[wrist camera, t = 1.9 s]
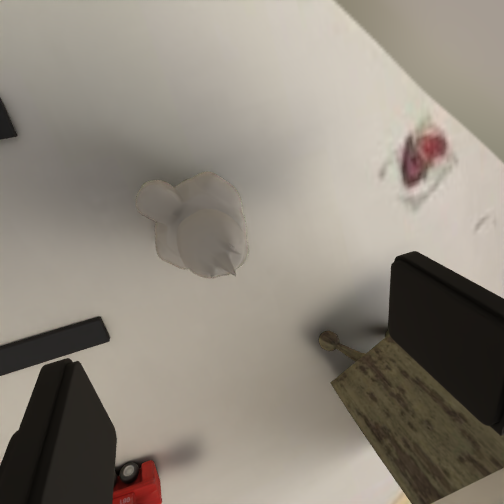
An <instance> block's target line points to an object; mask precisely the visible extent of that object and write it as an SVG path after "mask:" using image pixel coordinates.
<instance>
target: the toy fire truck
mask: <svg viewBox="0 0 504 504" xmlns="http://www.w3.org/2000/svg"><path fill="white" fill-rule="evenodd" d="M161 503H162V498H161V486H160V479H159V476H158V473H157V470H156V467H155V464H154V461H152V460H150V461H147V462H144V463H142V465H141V468H140V469H139V468H138V466H137V464H136V463H134V462H130V463H127V464H126V465H124V466H123V467H122V469H121V471H120V474H119V476H117V474H116V472H115V473H114V488H113V503H112V504H161Z"/></svg>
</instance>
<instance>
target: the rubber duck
mask: <svg viewBox="0 0 504 504" xmlns="http://www.w3.org/2000/svg"><path fill="white" fill-rule="evenodd" d="M136 207H137V210H138V212H139V213H141V214H142V215H144V216H146V217H147V218H149V219H151V220H153V221H156V224H155V235H156V237H155V244H156V251H157V254H158V256H159V257H160V258H161V259H162V260H164V261H166V262H168V263H170V264H172V265H174V266H176V267H178V268H181V269H189V270H190V271H192V272H193V273H195V274H197V275H199V276H201V277H205V278H216V277H218V276H223V275H229V274H232V275H235V276H236V274H235V270H236V269H238V268H240V267H241V266H242V265H243V264H244V263H245V261H246V259H247V257H248V253H249V248H248V242H247V231H246V221H245V217H244V215H243V212H242V201H241V198H240V196H239V194H238V192H237V190H236V189H235V187H234V186H232V185H231V184H230V183H228V182H227V181H225V180H224V179H222V178H221V177H220V176H218V175H216V174H214V173H212V172H202V173H199V174H198V175H196V176H194V177H193V178H190V179H187V180H185V181H183V182H182V183H180V184H179V185H177V186H175V187H172V186H171V185H170V184H168V183H167V182H164V181H161V180H152V181H148V182H146V183H144V184H143V185H142V187H141V189H140V191H139V192H138V194H137V196H136Z"/></svg>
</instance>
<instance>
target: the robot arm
mask: <svg viewBox="0 0 504 504" xmlns="http://www.w3.org/2000/svg"><path fill="white" fill-rule="evenodd" d="M388 331H389V334H390V336H391V338H392V339H393V340H394V341H395V342H396V343H397V344H398V345H399V346H400V347H401V348H402V349H403V350H404V351H405V352H407V353H408V354H409V355H410V356H411V357H412V358H413V359H414V360H415V361H416V362H417V363H418V364H419V365H420V366H421V367H422V368H423V369H425V370H426V371H427V372H428V373H429V374H430V375H431V376H432V377H433V378H434V379H435V380H436V381H437V382H438V383H439V384H440V385H442V386H443V387H444V388H445V389H446V390H447V391H448V392H449V393H450V394H451V395H452V396H453V397H454V398H455V399H456V400H457V401H458V402H460V403H461V404H462V405H463V406H464V407H465V408H466V409H467V410H468V411H469V412H470V413H471V414H472V415H473V416H474V417H475V418H476V419H478V420H479V421H480V422H481V423H482V424H484V425H486V426H490V427H491V428H492V429H494V430H495V431H496V432H497V433H498V434H499V435H500V436H502V435H504V299H503V298H501V297H500V296H498V295H496V294H494V293H492V292H490V291H488V290H487V289H485V288H483V287H481V286H479V285H477V284H476V283H474V282H472V281H470V280H468V279H466V278H465V277H463V276H461V275H459V274H457V273H455V272H454V271H452V270H450V269H448V268H446V267H444V266H443V265H441V264H439V263H437V262H435V261H433V260H432V259H430V258H428V257H426V256H424V255H422V254H420V253H419V252H416V251H413V252H409V253H406V254H403V255H400V256H397V257H396V258H395V261H394V263H392V265H391V279H390V299H389V319H388ZM116 443H117V438H116V431H115V428H114V426H113V424H112V422H111V420H110V418H109V416H108V414H107V412H106V410H105V408H104V407H103V405H102V403H101V401H100V399H99V397H98V395H97V393H96V391H95V389H94V388H93V386H92V384H91V382H90V380H89V378H88V376H87V374H86V372H85V370H84V368H83V367H82V365H81V363H80V362H79V361H76V362H72V360H71V359H69V358H66V359H63V360H60V361H56V362H53V363H50V364H47V365H44V366H43V367H42V368H41V371H40V373H39V376H38V379H37V381H36V384H35V387H34V390H33V392H32V395H31V398H30V401H29V403H28V406H27V409H26V411H25V414H24V417H23V420H22V422H21V425H20V428H19V430H18V431H17V432H16V433H15V434H14V435H13V436H12V438H11V440H10V442H9V444H8V447H7V449H6V452H5V454H4V457H3V460H2V462H1V465H0V504H112V503H113V488H114V473H115V458H116ZM431 504H504V468H503V469H501V470H498V471H496V472H494V473H492V474H490V475H488V476H486V477H484V478H482V479H480V480H478V481H476V482H474V483H472V484H470V485H468V486H466V487H464V488H462V489H460V490H458V491H456V492H454V493H452V494H450V495H448V496H446V497H444V498H442V499H439V500H437V501H435V502H433V503H431Z"/></svg>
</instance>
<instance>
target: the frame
mask: <svg viewBox="0 0 504 504" xmlns="http://www.w3.org/2000/svg"><path fill="white" fill-rule="evenodd" d="M16 136H17V133H16V131H15V129H14V127H13V125H12V122H11V120H10V118H9V116H8V114H7V112H6V109H5V107H4V105H3V103H2V101H1V98H0V139H6V138H11V137H16ZM109 341H110V337H109V335H108V332H107V330H106V328H105V326H104V324H103V321H102V319H101V317H97V318H94V319H90V320H87V321H84V322H80V323H77V324H74V325H70V326H67V327H64V328H60V329H57V330H54V331H50V332H47V333H44V334H40V335H37V336H34V337H30V338H27V339H24V340H21V341H17V342H14V343H11V344H7V345H4V346H1V347H0V376H2V375H5V374H8V373H11V372H14V371H18V370H21V369H24V368H27V367H30V366H33V365H36V364H40V363H43V362H46V361H49V360H52V359H55V358H58V357H62V356H65V355H68V354H71V353H74V352H77V351H81V350H84V349H87V348H90V347H93V346H96V345H99V344H103V343H106V342H109Z"/></svg>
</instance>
